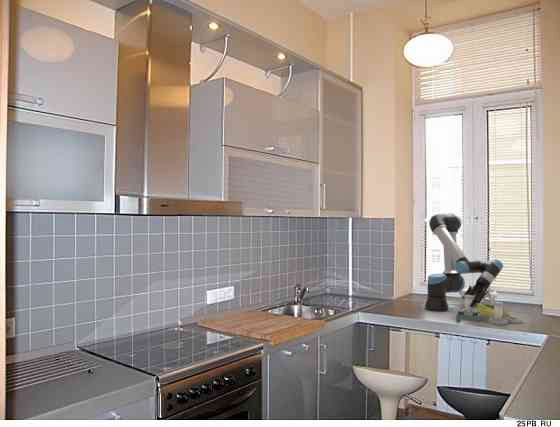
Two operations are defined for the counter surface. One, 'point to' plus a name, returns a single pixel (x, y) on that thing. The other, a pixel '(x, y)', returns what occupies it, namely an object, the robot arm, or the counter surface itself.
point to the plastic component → (488, 310)
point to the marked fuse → (467, 300)
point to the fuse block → (506, 321)
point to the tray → (464, 317)
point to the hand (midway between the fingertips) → (463, 309)
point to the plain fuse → (498, 311)
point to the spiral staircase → (490, 295)
